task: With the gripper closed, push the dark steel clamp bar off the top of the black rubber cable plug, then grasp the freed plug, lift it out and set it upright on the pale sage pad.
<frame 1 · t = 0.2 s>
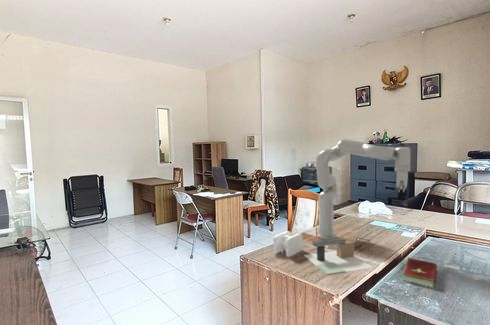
hand: (402, 197, 158), 31 cm above the table, tool pointing down, fingers open, 9 cm apart
hardcover book: (420, 276, 129), on the table
cable organizer: (288, 254, 158), on the table
cable plug: (320, 259, 145), point 1 cm above the table, touching cable panel
cable panel: (336, 263, 143), on the table
clamp bar: (328, 242, 146), point 11 cm above the table, slide at 0.0 cm
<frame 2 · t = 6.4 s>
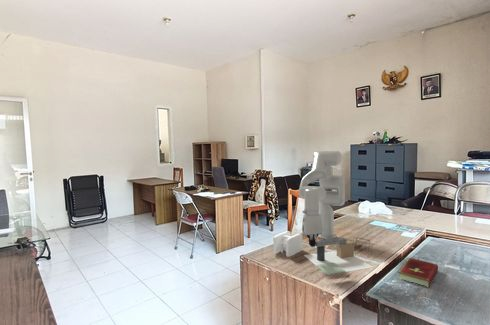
hand: (312, 246, 143), 10 cm above the table, tool pointing down, fingers closed
clamp bar: (330, 241, 146), point 11 cm above the table, slide at 0.9 cm, touching gripper
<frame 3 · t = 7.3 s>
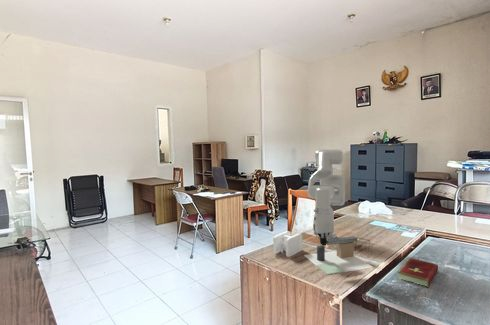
hand: (323, 244, 145), 10 cm above the table, tool pointing down, fingers closed
clamp bar: (341, 240, 148), point 11 cm above the table, slide at 7.5 cm, touching gripper
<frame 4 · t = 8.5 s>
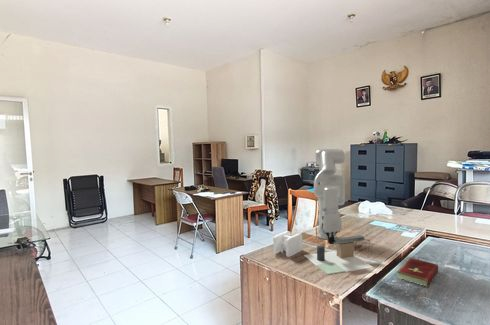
hand: (331, 243, 146), 10 cm above the table, tool pointing down, fingers closed
clamp bar: (348, 239, 149), point 11 cm above the table, slide at 12.1 cm, touching gripper
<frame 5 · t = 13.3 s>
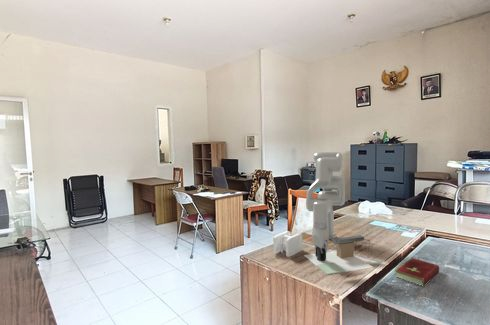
hand: (320, 257, 145), 3 cm above the table, tool pointing down, fingers closed on cable plug, 4 cm apart
cable plug: (320, 259, 145), point 1 cm above the table, touching cable panel, gripper
clamp bar: (348, 239, 149), point 10 cm above the table, slide at 12.0 cm
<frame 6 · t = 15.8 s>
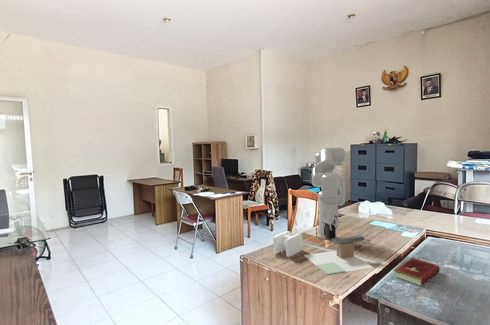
hand: (329, 236, 134), 18 cm above the table, tool pointing down, fingers closed on cable plug, 4 cm apart
cable plug: (329, 237, 134), point 17 cm above the table, touching gripper
when the fingers open (4 cm above the table, at t = 18.6 s): cable plug drops 1 cm, resting on cable panel.
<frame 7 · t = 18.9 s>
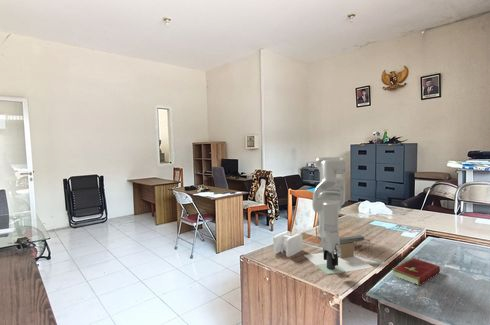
hand: (330, 262, 134), 5 cm above the table, tool pointing down, fingers open, 6 cm apart
cable plug: (330, 267, 134), point 2 cm above the table, touching cable panel
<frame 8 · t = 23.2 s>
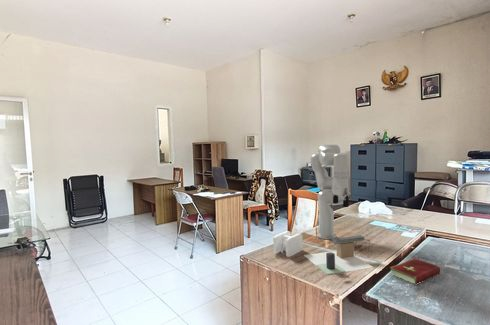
hand: (340, 205, 155), 28 cm above the table, tool pointing down, fingers open, 9 cm apart
at the end: clamp bar slide at 12.0 cm; cable plug inside the target area (0.1 cm from its centre), point 2.1 cm above the table; cable plug tilted 2° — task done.
